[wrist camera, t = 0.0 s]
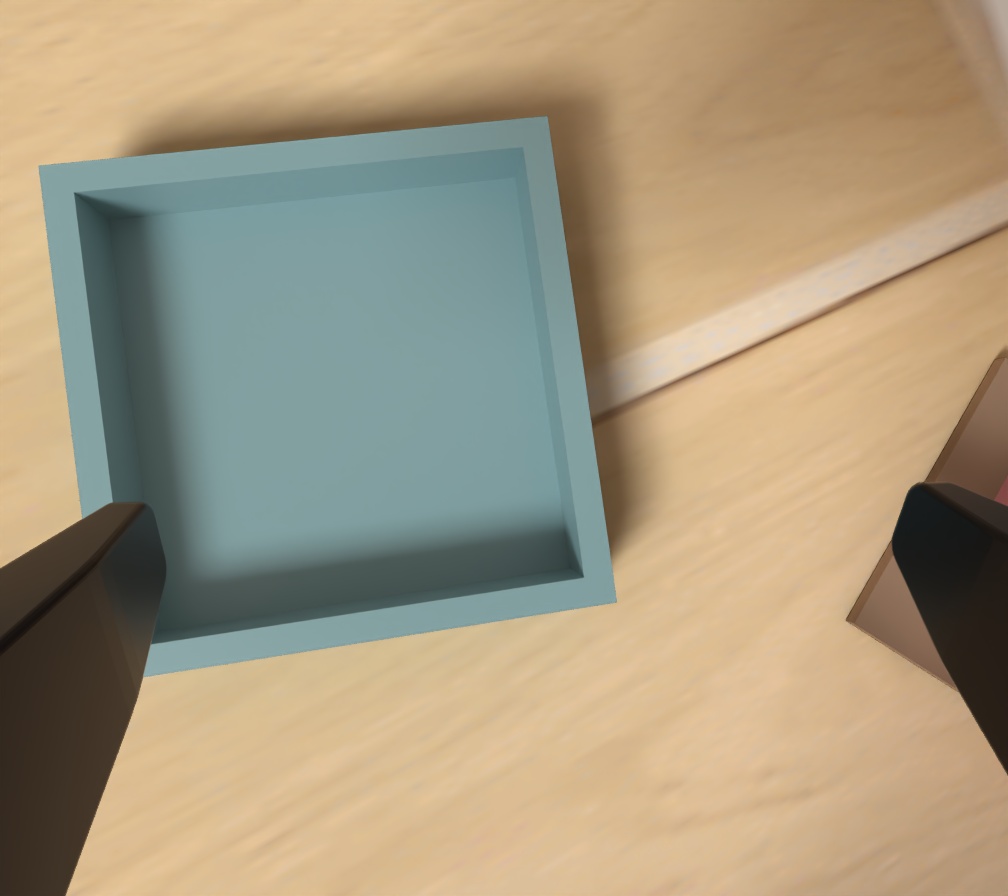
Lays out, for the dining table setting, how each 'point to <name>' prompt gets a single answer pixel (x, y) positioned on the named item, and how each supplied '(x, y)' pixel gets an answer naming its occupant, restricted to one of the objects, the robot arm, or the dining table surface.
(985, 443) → the stake stand
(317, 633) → the tray
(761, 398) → the dining table surface
